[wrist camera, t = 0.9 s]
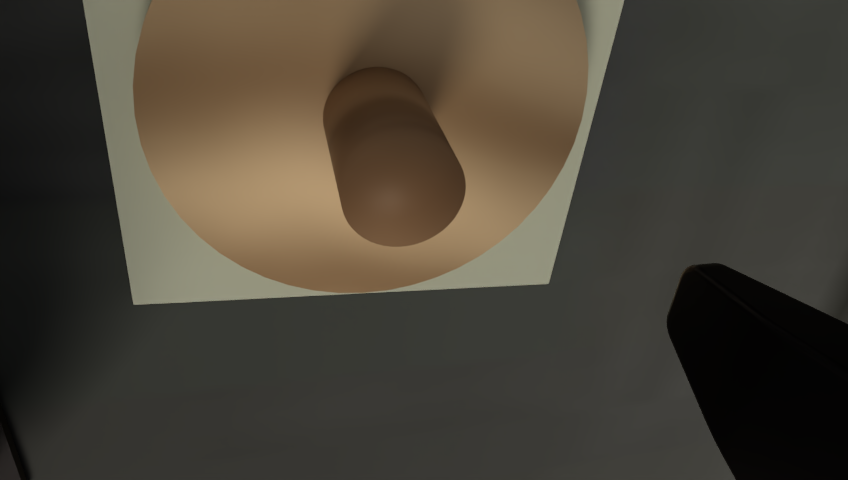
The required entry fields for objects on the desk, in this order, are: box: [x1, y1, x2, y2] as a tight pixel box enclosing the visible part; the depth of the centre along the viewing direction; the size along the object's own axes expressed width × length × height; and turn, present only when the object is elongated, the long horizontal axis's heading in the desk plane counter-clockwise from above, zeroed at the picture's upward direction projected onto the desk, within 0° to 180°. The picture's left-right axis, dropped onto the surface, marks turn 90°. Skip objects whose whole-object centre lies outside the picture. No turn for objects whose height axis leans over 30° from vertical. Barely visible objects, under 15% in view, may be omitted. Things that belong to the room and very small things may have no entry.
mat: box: [83, 0, 624, 305], centre depth 20 cm, size 14×14×1 cm
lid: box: [133, 0, 589, 293], centre depth 17 cm, size 12×12×5 cm
